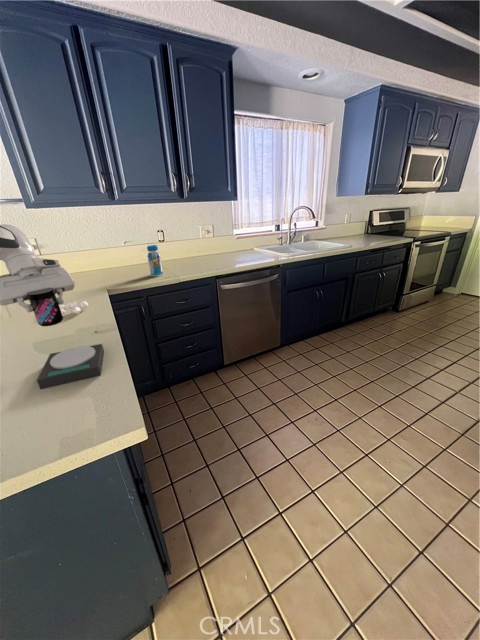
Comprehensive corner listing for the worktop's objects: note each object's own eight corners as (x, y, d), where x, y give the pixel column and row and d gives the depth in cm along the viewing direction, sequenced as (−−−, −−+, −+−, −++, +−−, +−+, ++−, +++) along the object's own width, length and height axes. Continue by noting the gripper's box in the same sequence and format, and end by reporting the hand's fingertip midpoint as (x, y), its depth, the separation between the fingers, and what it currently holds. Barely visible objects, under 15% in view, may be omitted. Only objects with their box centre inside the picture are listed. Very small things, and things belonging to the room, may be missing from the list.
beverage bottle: (148, 276, 182) (142, 246, 174) (155, 273, 189) (150, 244, 181) (159, 276, 179) (153, 246, 171) (165, 273, 187) (161, 244, 178)
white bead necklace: (33, 322, 118) (29, 314, 116) (55, 308, 131) (51, 300, 129) (74, 320, 116) (70, 312, 114) (92, 306, 129) (89, 298, 127)
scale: (40, 389, 72) (35, 378, 70) (53, 361, 85) (49, 352, 83) (100, 375, 77) (97, 365, 75) (104, 351, 90) (101, 342, 88)
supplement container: (33, 326, 81) (20, 294, 76) (50, 317, 87) (39, 287, 83) (52, 327, 80) (40, 294, 75) (69, 318, 86) (58, 287, 82)
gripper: (-19, 271, 74) (1, 312, 72) (63, 259, 87) (82, 292, 85) (-14, 284, 78) (5, 323, 76) (63, 270, 92) (81, 302, 90)
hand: (46, 307), depth 81 cm, fingers closed on supplement container, 6 cm apart
